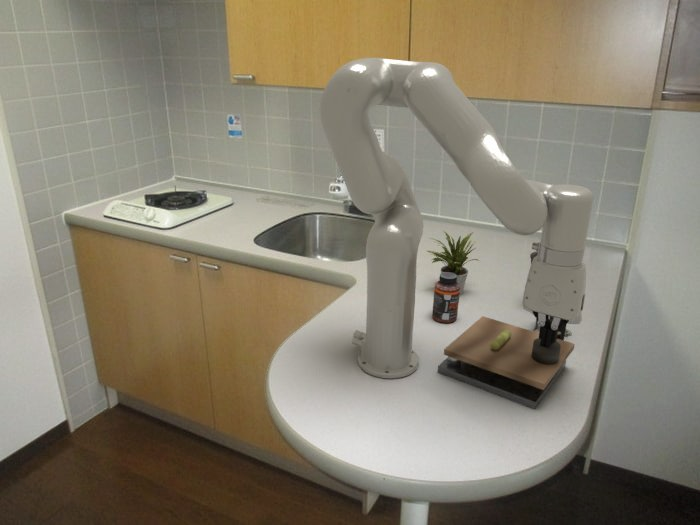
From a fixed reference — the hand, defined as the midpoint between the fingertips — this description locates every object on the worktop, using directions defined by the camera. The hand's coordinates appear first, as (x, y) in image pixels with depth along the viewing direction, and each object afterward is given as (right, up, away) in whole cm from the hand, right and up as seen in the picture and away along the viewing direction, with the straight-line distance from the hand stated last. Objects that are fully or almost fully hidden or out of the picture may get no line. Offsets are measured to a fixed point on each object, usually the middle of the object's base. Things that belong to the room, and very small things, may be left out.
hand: (546, 343), depth 110 cm
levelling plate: (-6, -2, +5) cm, 8 cm away
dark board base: (-7, -6, +8) cm, 12 cm away
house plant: (-10, +8, +44) cm, 45 cm away
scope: (+7, -1, +22) cm, 23 cm away
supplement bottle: (-15, +2, +28) cm, 32 cm away
